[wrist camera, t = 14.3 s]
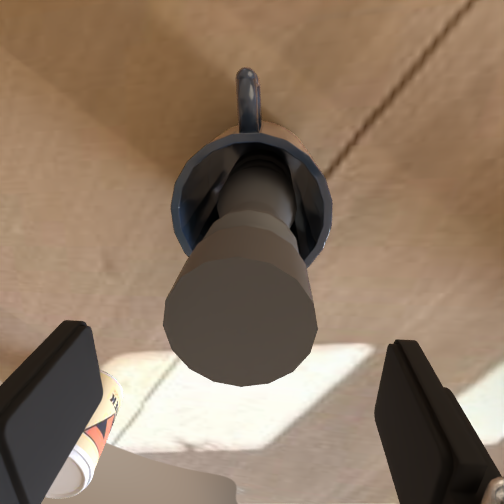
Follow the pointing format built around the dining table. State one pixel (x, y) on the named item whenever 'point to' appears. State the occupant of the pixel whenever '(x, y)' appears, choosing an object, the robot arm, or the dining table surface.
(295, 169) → the dark grey mug
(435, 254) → the dining table surface
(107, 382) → the coffee cup
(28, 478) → the robot arm
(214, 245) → the candle holder
